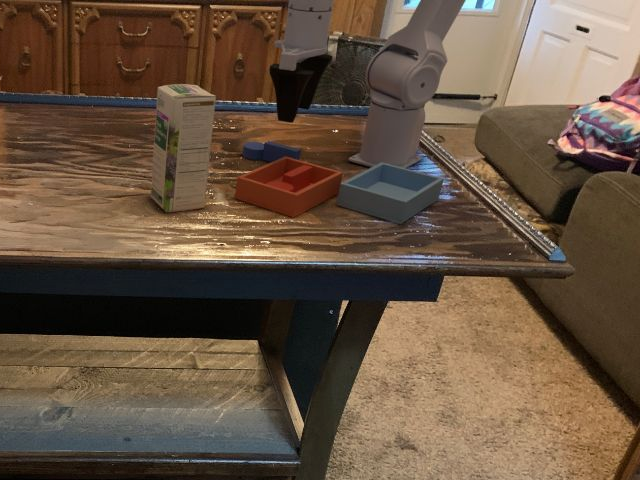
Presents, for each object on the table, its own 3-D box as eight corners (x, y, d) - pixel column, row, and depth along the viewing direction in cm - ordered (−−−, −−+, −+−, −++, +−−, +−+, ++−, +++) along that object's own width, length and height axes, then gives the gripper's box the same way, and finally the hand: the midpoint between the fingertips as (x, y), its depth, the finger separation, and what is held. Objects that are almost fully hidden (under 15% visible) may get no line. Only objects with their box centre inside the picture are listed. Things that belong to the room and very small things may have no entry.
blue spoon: (237, 155, 117) (239, 138, 116) (251, 150, 120) (253, 133, 118) (289, 170, 112) (292, 153, 111) (302, 164, 115) (305, 147, 113)
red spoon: (282, 205, 100) (285, 186, 98) (257, 197, 102) (260, 178, 100) (317, 187, 106) (320, 169, 104) (293, 180, 108) (296, 162, 106)
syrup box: (149, 197, 102) (154, 85, 93) (188, 193, 104) (197, 82, 95) (165, 213, 97) (172, 96, 89) (207, 208, 99) (217, 93, 91)
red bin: (282, 176, 110) (285, 156, 108) (339, 193, 105) (343, 172, 104) (234, 198, 103) (237, 177, 101) (293, 217, 98) (297, 195, 96)
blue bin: (376, 182, 109) (381, 161, 108) (438, 199, 105) (444, 178, 103) (336, 204, 102) (340, 183, 100) (400, 224, 97) (406, 202, 95)
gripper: (296, -2, 106) (282, 98, 114) (262, 12, 95) (249, 122, 103) (347, 3, 103) (328, 106, 111) (317, 18, 93) (300, 131, 100)
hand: (294, 114), depth 107 cm, fingers open, 7 cm apart
